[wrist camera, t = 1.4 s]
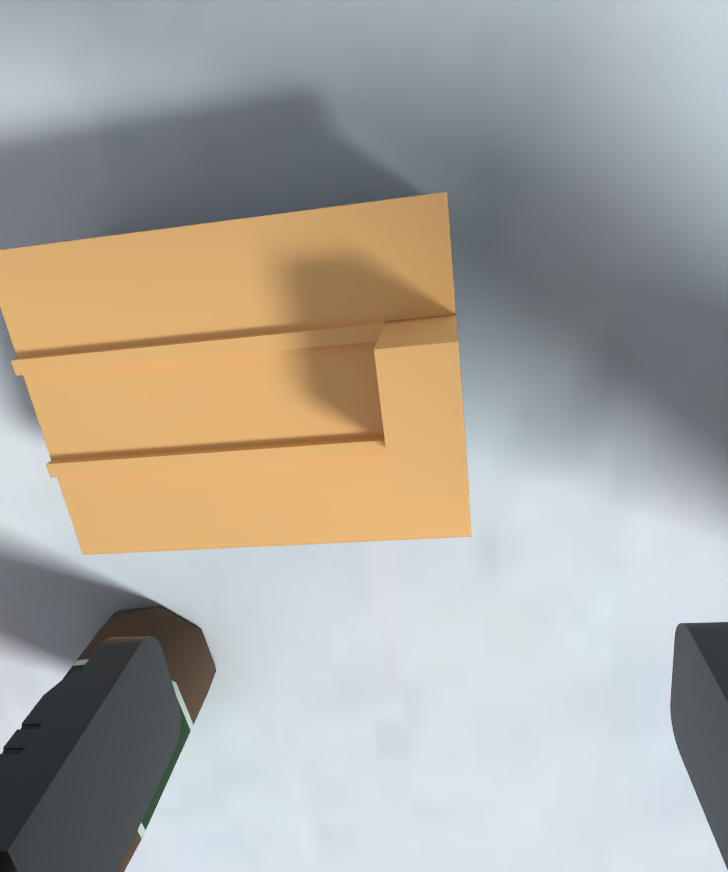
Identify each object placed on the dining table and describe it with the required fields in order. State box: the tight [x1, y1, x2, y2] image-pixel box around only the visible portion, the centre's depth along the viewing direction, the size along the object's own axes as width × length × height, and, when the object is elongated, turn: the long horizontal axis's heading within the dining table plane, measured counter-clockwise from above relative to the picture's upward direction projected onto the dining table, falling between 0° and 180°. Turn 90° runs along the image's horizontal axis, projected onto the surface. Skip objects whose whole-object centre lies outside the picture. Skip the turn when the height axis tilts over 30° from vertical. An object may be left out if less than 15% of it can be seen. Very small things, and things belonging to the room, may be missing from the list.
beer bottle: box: [62, 606, 216, 872], centre depth 28 cm, size 8×8×24 cm
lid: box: [0, 192, 472, 555], centre depth 24 cm, size 17×13×6 cm
